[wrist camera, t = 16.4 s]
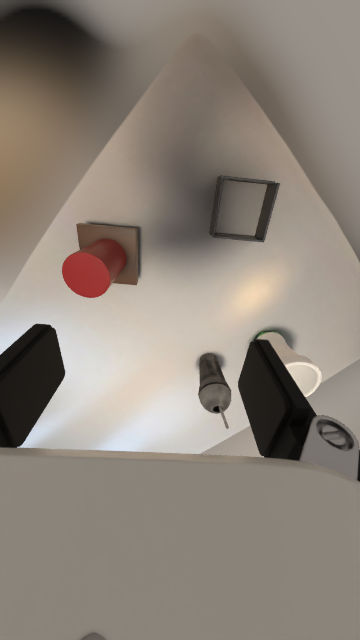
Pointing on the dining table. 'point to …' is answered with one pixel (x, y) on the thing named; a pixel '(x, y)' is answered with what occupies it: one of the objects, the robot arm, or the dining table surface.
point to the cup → (295, 363)
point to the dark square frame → (264, 215)
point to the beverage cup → (213, 386)
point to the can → (94, 267)
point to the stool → (121, 236)
